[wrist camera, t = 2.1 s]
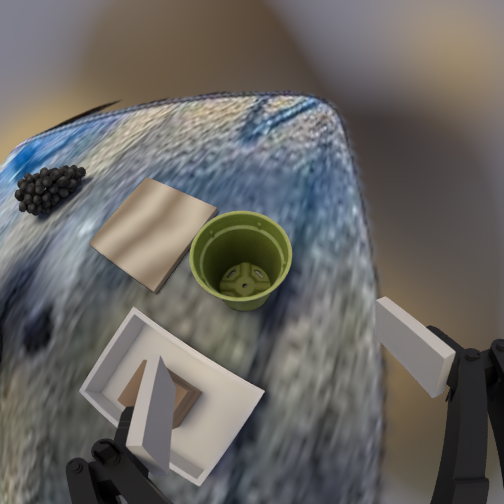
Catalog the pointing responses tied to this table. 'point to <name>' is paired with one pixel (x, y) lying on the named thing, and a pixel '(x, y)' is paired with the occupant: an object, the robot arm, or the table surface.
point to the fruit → (47, 188)
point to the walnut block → (183, 397)
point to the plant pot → (241, 258)
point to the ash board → (152, 232)
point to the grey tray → (191, 370)
